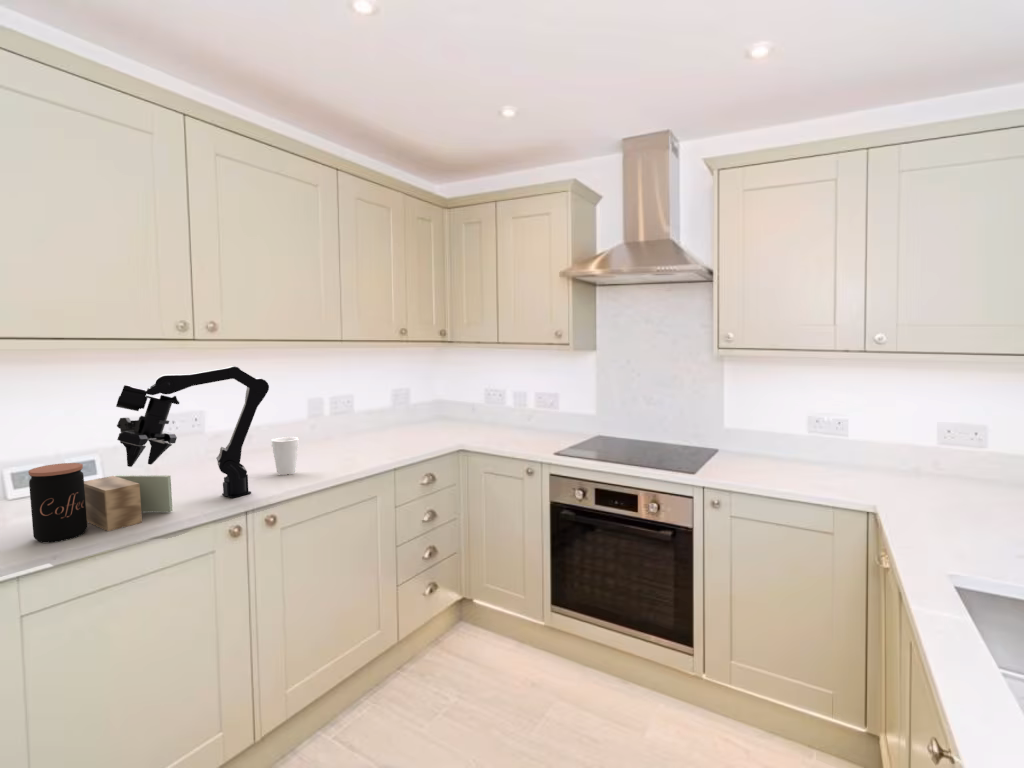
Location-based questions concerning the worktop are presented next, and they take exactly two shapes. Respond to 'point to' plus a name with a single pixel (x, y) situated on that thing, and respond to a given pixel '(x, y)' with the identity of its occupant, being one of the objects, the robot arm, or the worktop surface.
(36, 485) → the coffee jar
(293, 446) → the foam cup
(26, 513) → the worktop surface
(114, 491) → the cabinet
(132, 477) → the door
